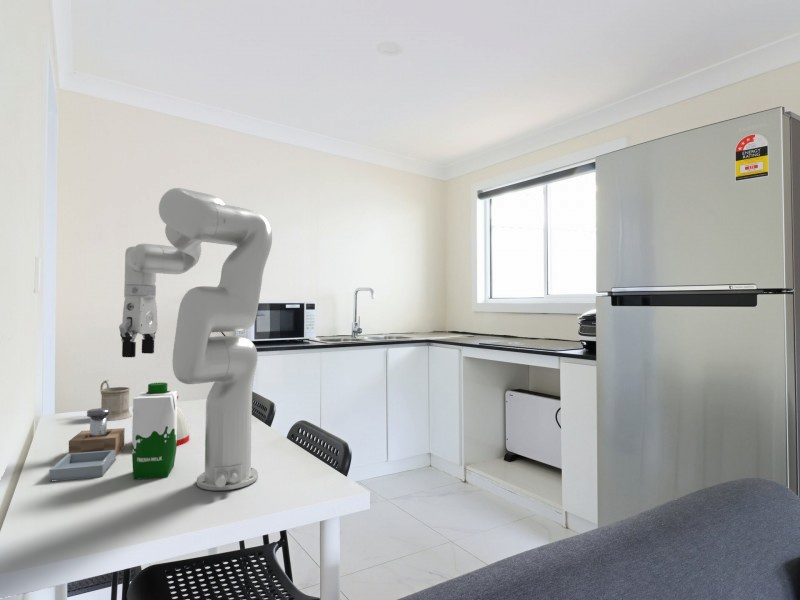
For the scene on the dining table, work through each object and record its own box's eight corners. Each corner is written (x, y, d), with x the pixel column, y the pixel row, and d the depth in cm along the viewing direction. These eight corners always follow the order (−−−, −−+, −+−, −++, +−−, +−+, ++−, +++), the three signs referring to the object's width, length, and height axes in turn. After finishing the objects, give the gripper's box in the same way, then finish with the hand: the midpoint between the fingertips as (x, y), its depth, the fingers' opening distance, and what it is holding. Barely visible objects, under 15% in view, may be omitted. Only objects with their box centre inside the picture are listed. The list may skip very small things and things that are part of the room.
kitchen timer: (135, 439, 136) (136, 386, 136) (187, 433, 142) (188, 383, 142) (132, 452, 123) (134, 394, 124) (190, 445, 130) (191, 390, 130)
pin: (106, 455, 120) (107, 411, 120) (83, 457, 118) (84, 412, 119) (111, 450, 125) (112, 407, 125) (89, 451, 123) (90, 408, 123)
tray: (102, 476, 105) (102, 465, 105) (49, 481, 102) (49, 469, 102) (115, 460, 117) (115, 449, 117) (68, 464, 113) (68, 453, 113)
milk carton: (178, 465, 113) (180, 381, 114) (171, 478, 105) (172, 387, 105) (138, 468, 111) (139, 382, 111) (126, 481, 102) (128, 389, 103)
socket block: (115, 457, 118) (115, 437, 118) (68, 461, 115) (68, 441, 115) (124, 446, 128) (124, 428, 128) (81, 449, 125) (81, 430, 125)
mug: (137, 416, 163) (138, 381, 163) (107, 422, 155) (108, 385, 155) (115, 411, 171) (116, 378, 171) (85, 416, 162) (86, 381, 163)
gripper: (137, 291, 120) (135, 359, 120) (168, 293, 138) (167, 352, 137) (107, 291, 120) (105, 358, 120) (142, 292, 137) (141, 351, 137)
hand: (138, 355), depth 129 cm, fingers open, 9 cm apart
